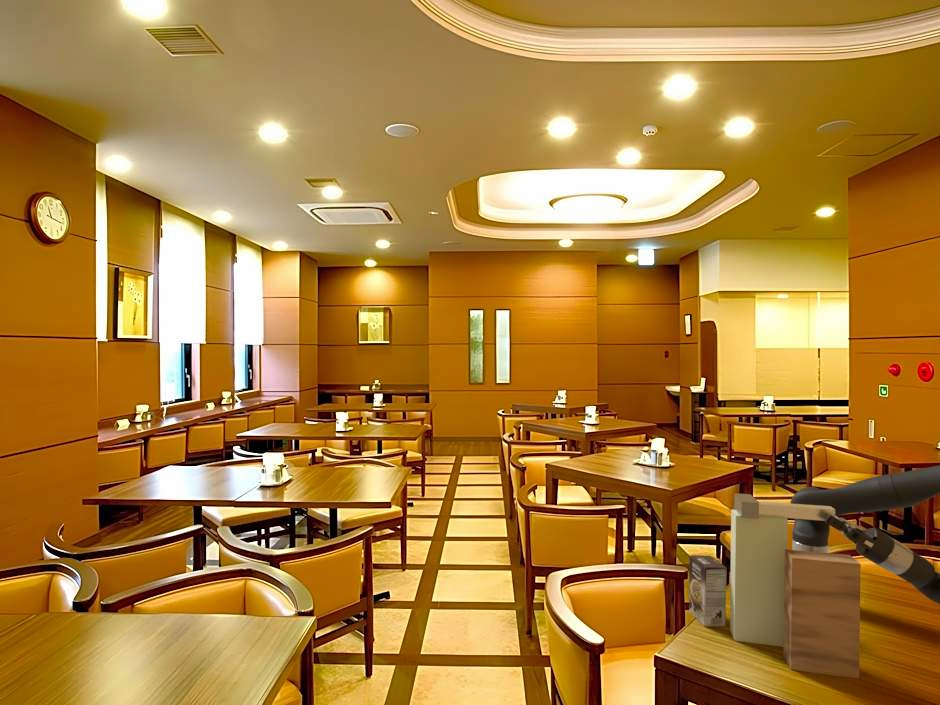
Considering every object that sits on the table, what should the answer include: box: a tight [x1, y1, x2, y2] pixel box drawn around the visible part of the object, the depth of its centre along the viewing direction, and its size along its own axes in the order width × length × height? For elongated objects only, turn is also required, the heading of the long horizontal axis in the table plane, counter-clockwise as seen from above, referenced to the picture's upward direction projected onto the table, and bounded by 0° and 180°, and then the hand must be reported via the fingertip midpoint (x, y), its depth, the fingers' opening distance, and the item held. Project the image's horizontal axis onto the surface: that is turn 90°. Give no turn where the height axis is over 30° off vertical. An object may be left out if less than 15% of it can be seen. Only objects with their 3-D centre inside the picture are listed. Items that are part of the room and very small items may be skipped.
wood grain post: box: [782, 549, 862, 680], centre depth 133 cm, size 6×14×26 cm, turn 76°
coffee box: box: [688, 554, 728, 627], centre depth 157 cm, size 9×6×16 cm
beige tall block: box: [729, 508, 789, 648], centre depth 147 cm, size 6×12×32 cm, turn 76°
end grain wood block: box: [733, 492, 835, 521], centre depth 145 cm, size 9×22×4 cm, turn 76°
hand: (821, 513), depth 143 cm, fingers open, 8 cm apart
